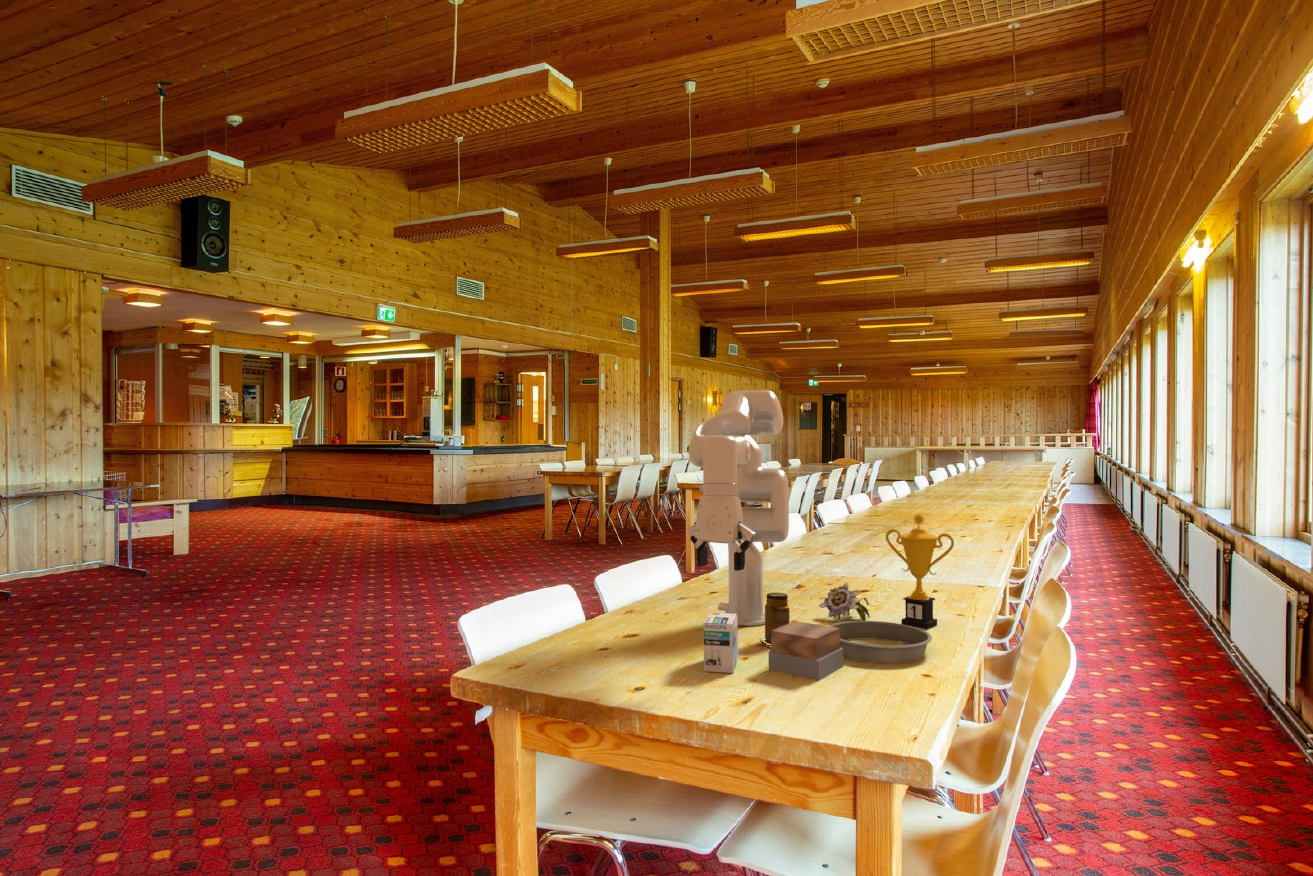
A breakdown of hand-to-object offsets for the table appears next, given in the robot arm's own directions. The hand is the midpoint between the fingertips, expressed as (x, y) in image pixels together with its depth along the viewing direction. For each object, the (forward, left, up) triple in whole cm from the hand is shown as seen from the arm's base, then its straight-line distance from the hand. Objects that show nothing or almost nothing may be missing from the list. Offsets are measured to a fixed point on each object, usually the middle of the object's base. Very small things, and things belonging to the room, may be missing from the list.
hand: (720, 567), depth 166 cm
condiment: (+1, +24, -22) cm, 33 cm away
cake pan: (+23, +33, -22) cm, 46 cm away
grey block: (+16, +10, -22) cm, 29 cm away
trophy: (+23, +63, -22) cm, 71 cm away
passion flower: (+4, +58, -22) cm, 62 cm away
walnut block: (+16, +10, -18) cm, 26 cm away
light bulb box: (0, 0, -22) cm, 22 cm away
